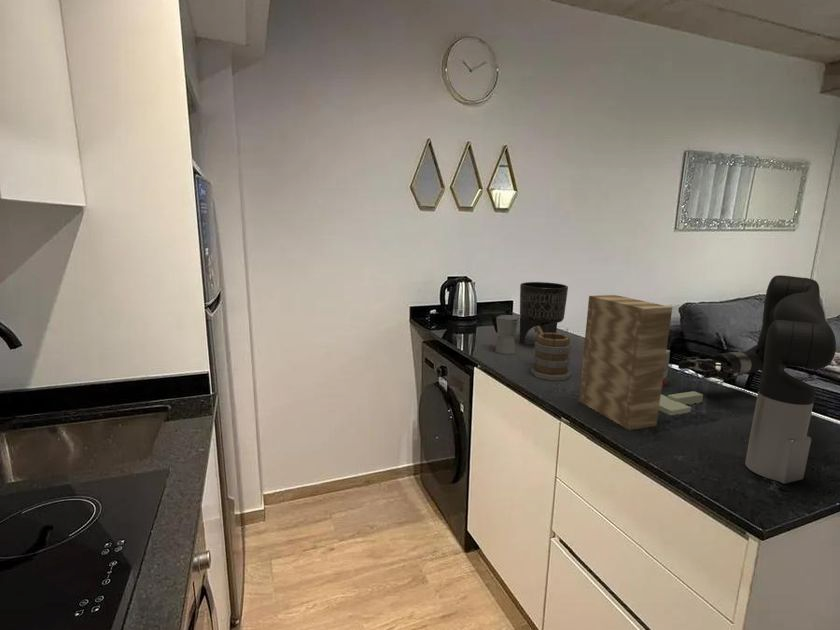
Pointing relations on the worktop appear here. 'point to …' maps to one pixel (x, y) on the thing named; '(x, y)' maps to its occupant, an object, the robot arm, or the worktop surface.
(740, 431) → the worktop surface
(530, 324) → the planter
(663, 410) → the sage mallet
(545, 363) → the tankard
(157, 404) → the worktop surface
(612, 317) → the wooden crate
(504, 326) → the coffee maker
